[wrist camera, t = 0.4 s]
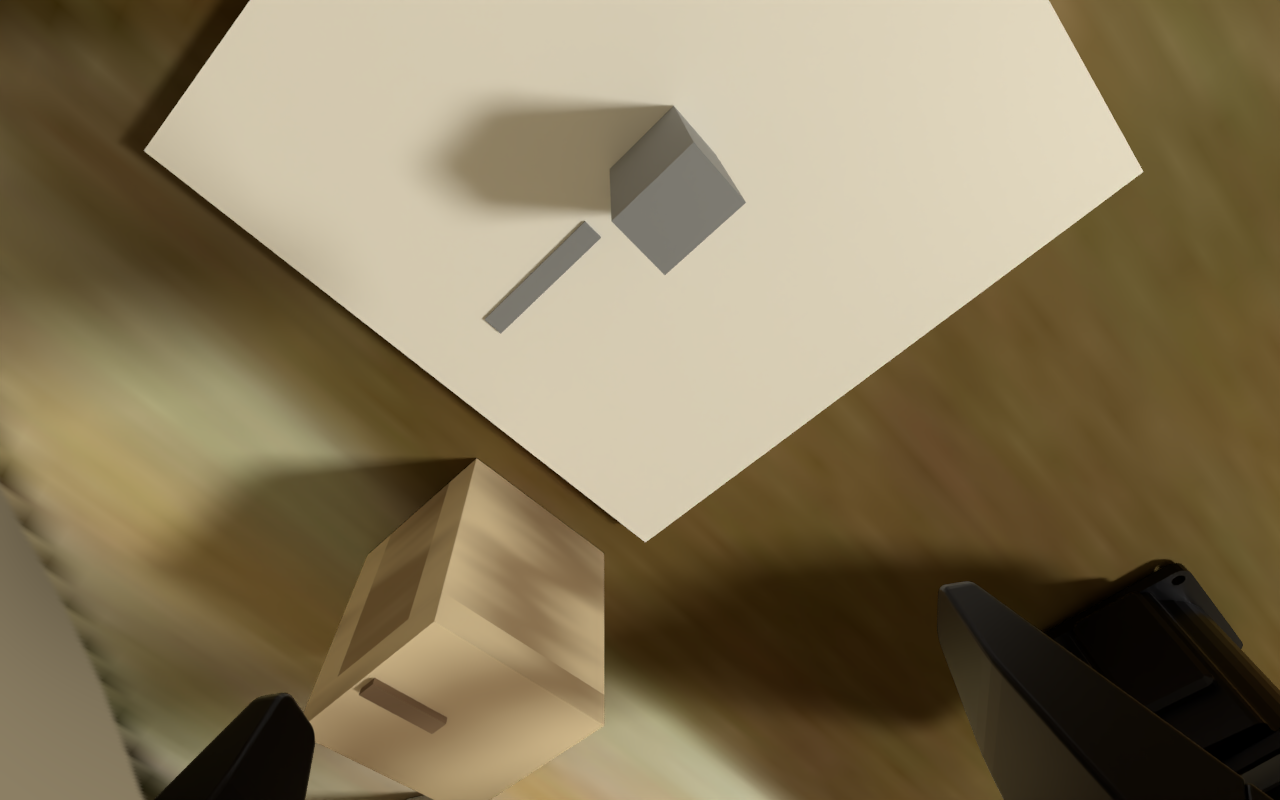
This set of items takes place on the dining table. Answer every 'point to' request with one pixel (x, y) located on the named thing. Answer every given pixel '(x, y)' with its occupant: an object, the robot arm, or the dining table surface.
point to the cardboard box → (467, 645)
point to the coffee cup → (420, 798)
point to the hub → (648, 199)
